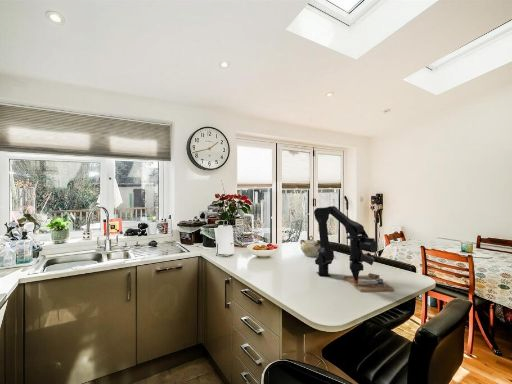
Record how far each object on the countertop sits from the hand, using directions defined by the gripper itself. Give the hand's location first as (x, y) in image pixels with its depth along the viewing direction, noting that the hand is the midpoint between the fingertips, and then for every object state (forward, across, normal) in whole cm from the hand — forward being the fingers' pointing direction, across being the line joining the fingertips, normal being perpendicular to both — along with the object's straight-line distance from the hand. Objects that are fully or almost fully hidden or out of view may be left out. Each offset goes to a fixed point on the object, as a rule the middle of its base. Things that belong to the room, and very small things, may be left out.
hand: (355, 278), depth 129 cm
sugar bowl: (+4, +56, +31) cm, 64 cm away
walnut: (+1, +9, -8) cm, 12 cm away
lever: (+2, +2, -6) cm, 6 cm away
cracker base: (+4, +7, -6) cm, 10 cm away
